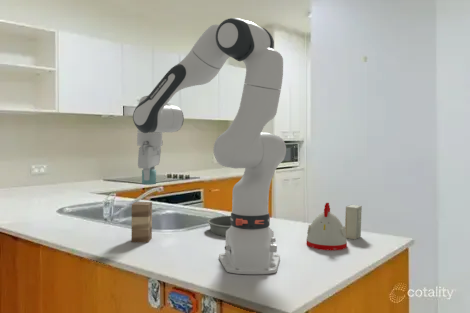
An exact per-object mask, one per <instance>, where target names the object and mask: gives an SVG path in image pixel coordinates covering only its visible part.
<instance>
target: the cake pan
mask: <svg viewBox="0 0 470 313" xmlns="http://www.w3.org/2000/svg"><path fill="white" fill-rule="evenodd" d="M230 217H231V215H222V216H214V217H212V218H209V219H207V220H206V222H207V224H209V227H210V232H211V233H212V234H214V235H217V236H221V237H222V236H223V237H226V231H227V230H228V229H229V228H230V227H231V220H230Z"/></svg>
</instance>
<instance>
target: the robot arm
mask: <svg viewBox="0 0 470 313" xmlns="http://www.w3.org/2000/svg"><path fill="white" fill-rule="evenodd" d="M274 48H275V41H274V38H273V36H272V34H271V33H270V31H268V30H267V29H266V28H264V27H262V26H259V25H257V24H256V23H254V22H252V21H249V20H245V19H242V18H239V17H231V18H226V19H224V20H223V21H221V23H220V24H211V25H210V26H209V27H208V28H206V30H204V32H203V33H202V35H201V36H200V37H199V38H198V39H197V40H196V42H195V44H194V45H193V46H192V48H191V49H190V51H189V52H188V53H187V54H186V56H185V57H184V58H182V60H181V61H179V62H177V64H175V65H174V66H173V67H171V68H170V69H169V70H168V71H167V73H165V75H164V76H163V77H162V78H161V80H160V81H159V82H158V83H157V84H156V86H155V87H154V88H153V89H152V91H151V92H149V94H148V95H145V96H142V97H141V98H140V99H139V102H138V104H137V105H136V107H135V109H134V110H133V114H132V120H133V123H134V126H135V127H136V129H137V135H136V136H137V138H136V145H137V146H139V147H138V152H137V153H138V157H137V166H138V169H142V170H143V172H144V180H150V169H152V170H156V166H158V165H159V164H160V161H161V153H162V151H161V150H162V146H163V145H164V144H163V133H175V132H178V131H179V130H181V128H182V127H183V125H184V118H185V117H184V112H183V110H182V109H181V108H180V107H178V106H177V105H174V104H171V103H169V102H170V101H171V100H172V98H173V97H174V96H175V95H176V94H177V93H178V92H179V91H181V90H184V89H187V88H191V87H195V86H202V85H205V84H208V83H210V82H211V81H212V80H213V79H215V77H216V76H217V75H218V74H219V72H220V71H221V69H222V67H223V66H224V64H225V63H226V62H227V61H228V59H230V58H232V59H234V60H236V61H237V62H243V64H244V65H245V68H246V69H245V70H246V71H245V77H244V83H243V88H242V92H241V98H240V103H239V108H238V110H237V113H236V115H235V117H234V119H233V120H232V122H231V123H230V125H229V126H228V127H227V129H226V130H225V131H224V132H222V133H221V134H220V135H219V136H218V137H217V138H216V139H215V141H214V144H213V156H214V159H215V160H216V162H217V164H219V165H220V166H222V167H226V168H231V169H244V172H243V175H242V177H241V178H240V180H239V181H238V182H236V183H235V184H234V185H233V188H232V198H231V199H232V200H231V202H232V203H231V204H232V206H231V210H232V211H231V212H230V216H231V217H230V220H231V227H230V228H229V229H228V230H227V231H226V236H225V246H224V250H225V251H224V252H223V253H220V254H219V255H218V259H219V261H220V263H221V264H222V266H223V268H224V270H225V271H226V272H227V273H230V274H237V275H269V274H275V273H277V271H278V268H279V266H280V265H279V264H280V261H281V255H280V254H277V252H278V251H277V249H278V245H277V244H275V243H276V237H275V236H274V230H273V229H271V227H270V221H271V218H270V212H269V201H270V200H269V198H270V197H269V196H270V187H271V184H272V179H273V176H274V175H275V172H276V170H277V168H278V166H280V165H281V163H282V162H283V161H284V160H285V157H286V155H287V146H286V142H285V141H284V139H283V138H282V137H281V136H280V135H278V134H277V135H276V134H273V133H271V132H270V133H269V132H263V130H264V128H265V126H266V125H267V124H268V123H269V122H271V121H272V120H274V118H275V117H276V116H277V113H278V107H279V102H280V97H281V91H282V87H283V86H282V85H283V78H284V77H283V76H284V58H283V56H282V54H281V53H280V52H279V51H277V50H276V49H274Z"/></svg>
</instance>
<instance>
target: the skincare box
mask: <svg viewBox="0 0 470 313" xmlns="http://www.w3.org/2000/svg"><path fill="white" fill-rule="evenodd" d="M362 208H363V205H360V204H359V205H357V204H349V205H347V206H345V217H344V218H345V222H344V226H345V230H346V239H349V240H358V239H359V238H361V236H362V235H361V233H362V212H363V211H362Z"/></svg>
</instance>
